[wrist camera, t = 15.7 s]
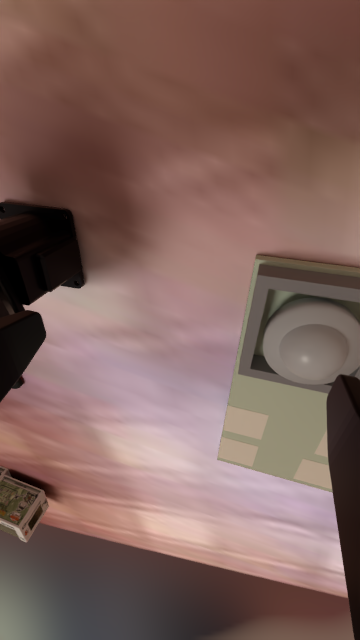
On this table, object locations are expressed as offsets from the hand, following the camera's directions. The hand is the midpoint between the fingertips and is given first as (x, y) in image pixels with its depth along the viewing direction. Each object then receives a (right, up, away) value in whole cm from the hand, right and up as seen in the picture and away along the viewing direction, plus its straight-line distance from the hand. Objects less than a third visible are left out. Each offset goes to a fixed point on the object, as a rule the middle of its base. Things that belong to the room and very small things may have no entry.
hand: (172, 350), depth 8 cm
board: (+12, -6, +16) cm, 21 cm away
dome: (+9, 0, +12) cm, 15 cm away
